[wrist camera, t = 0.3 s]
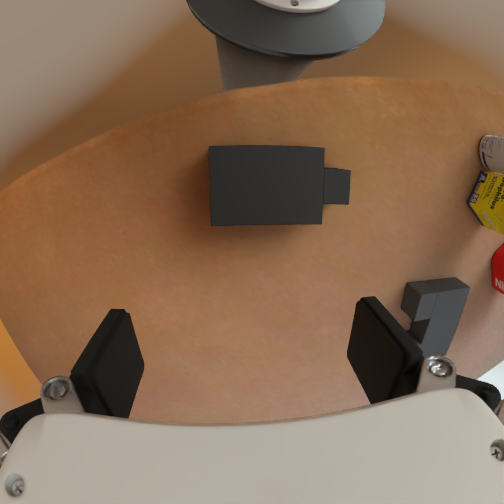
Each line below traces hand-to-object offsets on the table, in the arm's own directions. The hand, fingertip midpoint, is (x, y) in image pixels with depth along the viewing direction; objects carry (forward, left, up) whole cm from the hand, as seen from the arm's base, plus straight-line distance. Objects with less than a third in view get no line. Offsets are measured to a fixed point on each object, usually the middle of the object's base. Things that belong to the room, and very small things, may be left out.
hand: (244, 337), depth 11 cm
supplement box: (-4, +35, -19) cm, 40 cm away
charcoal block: (+14, +27, -19) cm, 35 cm away
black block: (-4, +4, -19) cm, 19 cm away
